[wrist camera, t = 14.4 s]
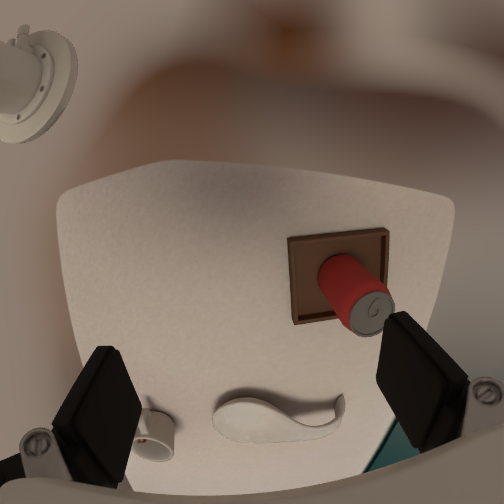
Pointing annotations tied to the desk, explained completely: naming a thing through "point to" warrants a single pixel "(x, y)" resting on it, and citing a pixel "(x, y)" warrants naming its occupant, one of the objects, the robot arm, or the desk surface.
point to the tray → (317, 253)
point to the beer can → (355, 295)
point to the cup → (154, 436)
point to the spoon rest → (268, 422)
